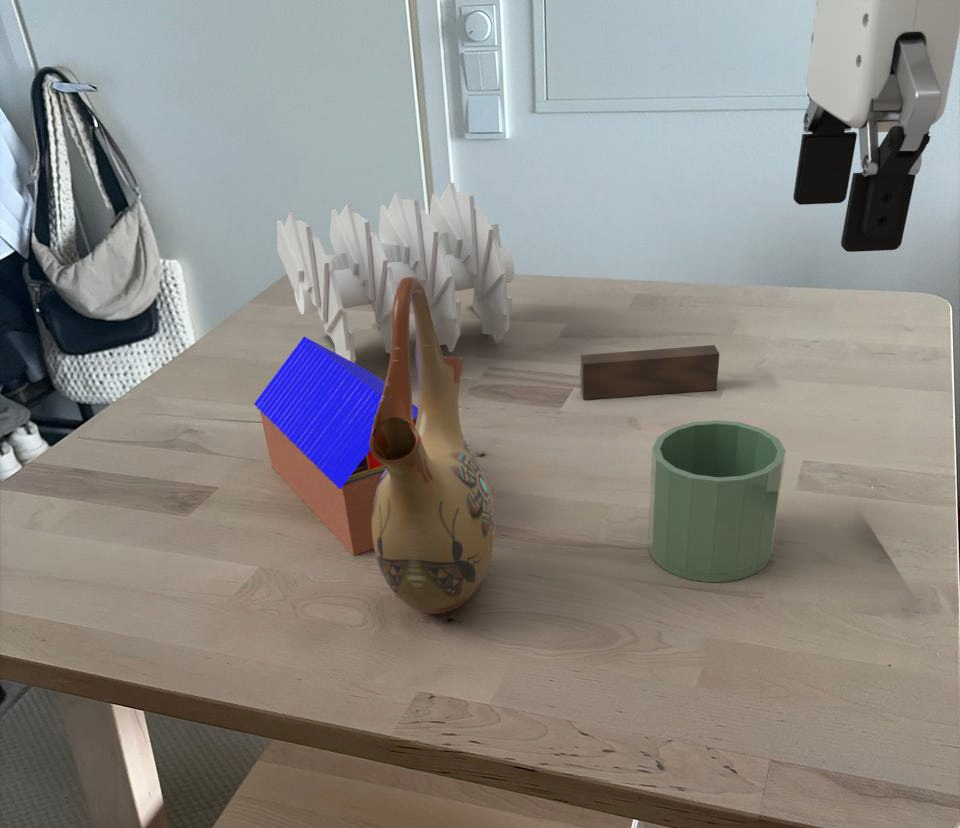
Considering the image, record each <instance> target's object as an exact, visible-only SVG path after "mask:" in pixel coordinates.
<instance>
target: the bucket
mask: <svg viewBox="0 0 960 828" xmlns="http://www.w3.org/2000/svg"><path fill="white" fill-rule="evenodd" d="M785 459H786V449H785V446H784V445H783V444H782V442H781V440H780V439H779V438H778V437H777V436H775V435H773V434H772V433H770V432H768V430H766V429H764V428H760V427H758V426H754V425H750V424H747V423H744V422H741V421H740V422H738V421H729V420H718V419H717V420H716V419H715V420H702V421H701V420H700V421H693V422H688V423H685V424H681V425H677V426H675V427H671V428H670V429H668V430H666V431H665V432H663V433H662V434H660V435H658V437H656V440H655V442H654V444H653V445H652V448H651V467H650V468H651V469H650V492H649V493H650V494H649V517H648V543H649V544H648V545H649V546H648V550H649V554H650V555H651V558H652V559H653V561H654V562H655V563H656V564H657V565H658V566H659V567H661V568H662V569H663V570H665V571H666V572H669V573H670V574H671V575H674V576H677V577H679V578H682V579H687V580H691V581H696V582H703V583H725V582H734V581H738V580H742V579H745V578H748V577H751V576H753V575H755V574H757V573H759V572H760V571H761V570H763V569H764V568H765V567H766V566H767V565H768V563H769V562H770V560H771V558H772V553H773V547H774V543H775V536H776V530H777V520H778V513H779V506H780V497H781V490H782V484H783V483H782V482H783V475H784V467H785Z"/></svg>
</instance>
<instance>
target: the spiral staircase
mask: <svg viewBox="0 0 960 828" xmlns="http://www.w3.org/2000/svg"><path fill="white" fill-rule="evenodd" d="M430 199H431V200H430V208H429V215H428V213H427V211H426V210H425V209H421V210H420V205H419V200H418V199H417V200H416V199H403V197H402V194H401V190H395V191H394V193H393V196H392V199H391V201H390V204H389V206H388V208H387V206H386V205H385V204H381V205H380V209H379V228H378V229H379V231H378V234H377V232H376V231H371V229H370V228H371V227H370V221H369V220H368V219H366V218H365V217H363V216H362V215H361V214H359V213H358V212H354V209H353V205H352V203H346V204H345V206H344V207H343V209H342V211H341V212H340V214H338V211H337V209H336V208H335V209H331V210H330V211H331V213H330V224H329V225H330V226H329V240H330V243H331V245H332V248H333V250H334V253H329V254H326V252H325V250H324V247H323V245H322V243H321V242H320V239H319V237H318V235H315V236H313V235H312V227H311V226H310V225H309V224H307V223H306V222H304V221H302V220H299V219H298V220H297V217H296V212H295V210H290V211H289V212H288V215H287V218H286V220H285V224H284V223H283V221H282V219H279V220H276V245H277V246H276V248H277V249H276V251H277V254H278V256H279V258H280V260H281V263H282V265H283V267H284V270H285V272H286V275H287V276H288V279H289V282H290V284H291V286H292V289H293V294H294V298H295V299H294V300H295V303H296V306H297V309H298V312H299V313H300V314H301V316H305V315H310V314H316V313H317V314H318V317H319V319H320V321H321V323H322V326H323V331H324V333H325V334H326V335H328V336H329V337H330V339H331V340H332V342H333V344H334V352H335V353H336V354H338V355H340V356H342V357H344V358H345V359H347V360H349V361H351V362H353V363H355V364H356V361H357V358H356V355H355V332H354V330H353V329H352V327H351V324H350V323H349V321H348V314H347V310H345V309H349V308H356V307H362V306H369V305H370V307H371V308H372V310H373V313H374V317H375V323H376V324H377V325H378V326H379V328H380V330H381V332H382V337H383V345H384V351H385V353H387V354H389V355H390V353H391V342H392V310H393V302H394V297H395V294H396V291H397V288H398V286H399V283H400V281H401V279H403V278H406V277H416V278H418V279H419V280H420V281H421V283H422V284H423V286H424V289H425V292H426V296H427V300H428V304H429V308H430V312H431V317H432V321H433V325H434V329H435V332H436V336H437V339H438V342H439V345H440V346H442V345H443V346H444V345H446V347H447V350H448V352H449V353H451V352H454V350H455V347H456V345H457V343H458V340H459V337H461V315H462V301H461V299H459V297H458V296H457V295H456V292H458V291H464V290H472V289H473V293H472V294H473V295H472V306H471V307H472V309H473V311H475V313H476V314H477V316H478V317H479V318H480V323H481V324H480V325H481V331H482V335H492V337H493V341H494V343H495V344H498V343H500V342H501V340H502V339H503V337H504V335H505V333H506V332H508V331H510V322H511V313H512V303H513V297H512V296H511V294H509V292H508V284H509V283H511V282H512V281H513V280H514V276H515V261H514V257H513V253H512V252H511V249H510V248H509V247H508V246H506V245H505V246H502V245H501V238H500V237H501V235H500V227H499V224H498V223H496V224H491V222H490V221H489V219H488V218H487V216H486V214H485V212H484V210H483V209H482V207H481V206H480V204H477V205H475V198H474V195H473V194H469V193H467V192H463V191H456V186H455V183H454V182H449V183H448V185H447V187H446V188H445V189H444V191H443V193H442V194H441V196H440V198H439V196H438V194H437V193H432V194H431V198H430Z"/></svg>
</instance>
